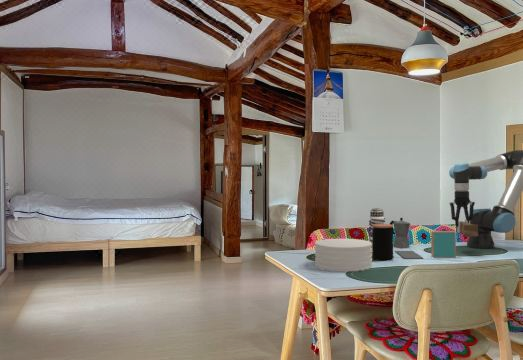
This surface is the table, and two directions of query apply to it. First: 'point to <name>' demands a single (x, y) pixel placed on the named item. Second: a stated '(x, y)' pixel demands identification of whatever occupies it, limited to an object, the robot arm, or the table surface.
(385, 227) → the coffee jar
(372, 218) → the decorative candle
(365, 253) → the plate stack
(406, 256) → the rubber mat
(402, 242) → the coffeepot
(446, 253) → the glazed tile
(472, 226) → the brown wooden block
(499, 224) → the robot arm
